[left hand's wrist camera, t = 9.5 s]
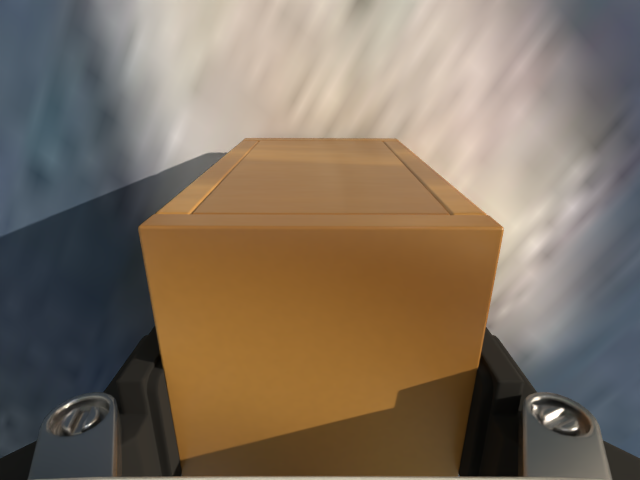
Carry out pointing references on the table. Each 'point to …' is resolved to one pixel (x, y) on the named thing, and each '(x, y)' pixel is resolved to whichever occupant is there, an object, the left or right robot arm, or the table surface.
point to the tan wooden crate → (320, 310)
